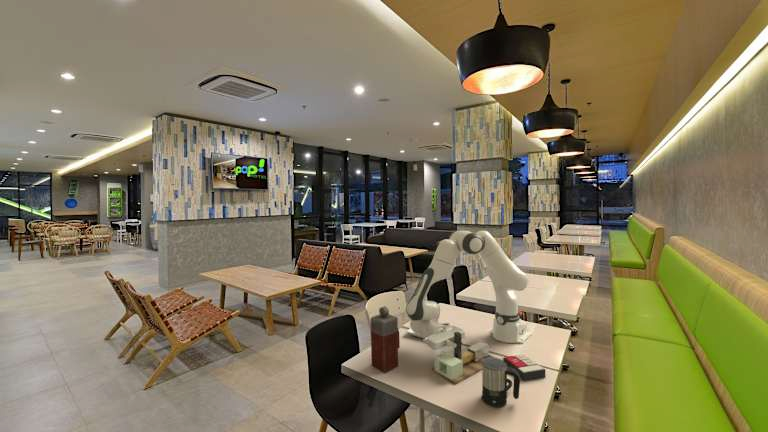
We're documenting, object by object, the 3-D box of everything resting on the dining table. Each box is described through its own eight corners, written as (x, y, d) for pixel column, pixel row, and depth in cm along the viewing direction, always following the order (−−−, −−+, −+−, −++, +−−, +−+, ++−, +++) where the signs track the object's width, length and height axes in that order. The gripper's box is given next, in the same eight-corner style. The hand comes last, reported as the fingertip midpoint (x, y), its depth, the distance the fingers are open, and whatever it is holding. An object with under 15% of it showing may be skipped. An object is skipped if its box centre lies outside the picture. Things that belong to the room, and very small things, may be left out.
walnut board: (474, 349, 165) (474, 348, 165) (498, 361, 154) (498, 359, 154) (431, 370, 147) (431, 368, 147) (455, 384, 136) (455, 382, 136)
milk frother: (485, 408, 121) (485, 369, 120) (473, 383, 137) (473, 349, 136) (523, 407, 121) (524, 369, 120) (507, 382, 137) (508, 348, 136)
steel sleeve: (479, 351, 161) (479, 341, 161) (489, 356, 156) (489, 345, 156) (466, 358, 155) (466, 347, 155) (476, 363, 150) (476, 352, 150)
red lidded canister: (402, 364, 153) (401, 305, 151) (384, 373, 145) (383, 312, 143) (388, 357, 159) (387, 301, 157) (371, 365, 152) (370, 307, 150)
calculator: (523, 353, 155) (545, 368, 140) (523, 362, 155) (546, 377, 140) (502, 356, 152) (523, 371, 137) (502, 365, 152) (523, 381, 138)
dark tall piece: (472, 354, 156) (472, 324, 154) (477, 357, 153) (477, 327, 152) (445, 367, 145) (445, 335, 144) (451, 370, 142) (451, 338, 141)
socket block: (445, 364, 150) (445, 352, 149) (462, 374, 142) (462, 361, 141) (434, 370, 146) (434, 357, 145) (451, 380, 138) (451, 366, 137)
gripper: (420, 333, 150) (443, 344, 139) (450, 322, 163) (473, 331, 151) (420, 346, 151) (443, 358, 140) (450, 334, 163) (473, 344, 152)
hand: (459, 344), depth 146 cm, fingers closed on dark tall piece, 2 cm apart
